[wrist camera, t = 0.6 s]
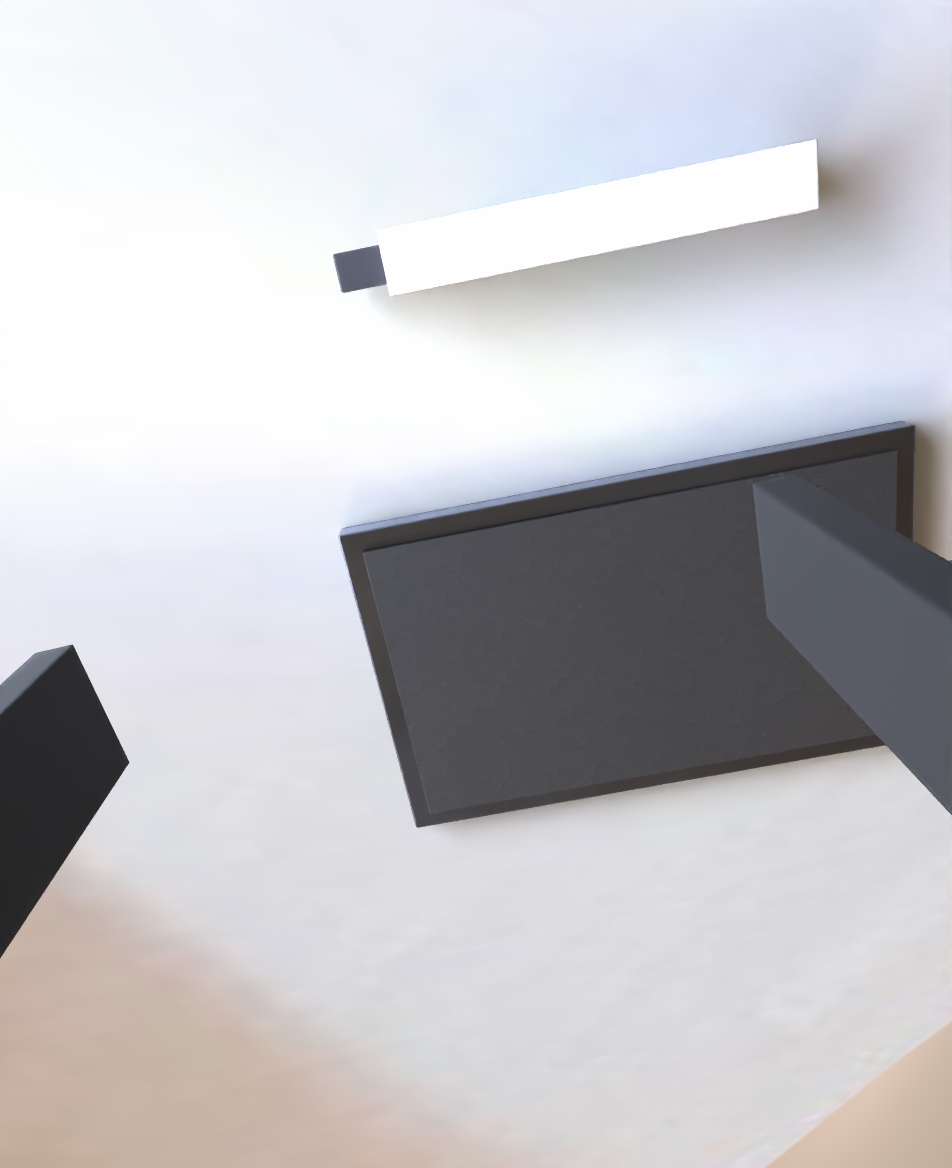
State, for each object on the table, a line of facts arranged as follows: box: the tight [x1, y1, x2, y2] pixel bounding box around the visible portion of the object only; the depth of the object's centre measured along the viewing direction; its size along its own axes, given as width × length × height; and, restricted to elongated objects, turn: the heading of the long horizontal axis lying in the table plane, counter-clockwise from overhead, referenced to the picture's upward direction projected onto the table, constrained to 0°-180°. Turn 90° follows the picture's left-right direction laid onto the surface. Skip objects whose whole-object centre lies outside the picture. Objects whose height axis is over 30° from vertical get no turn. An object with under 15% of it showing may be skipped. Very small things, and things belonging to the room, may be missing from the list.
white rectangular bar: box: [333, 139, 819, 296], centre depth 26 cm, size 2×16×2 cm, turn 101°
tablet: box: [339, 421, 915, 828], centre depth 32 cm, size 14×22×1 cm, turn 101°
